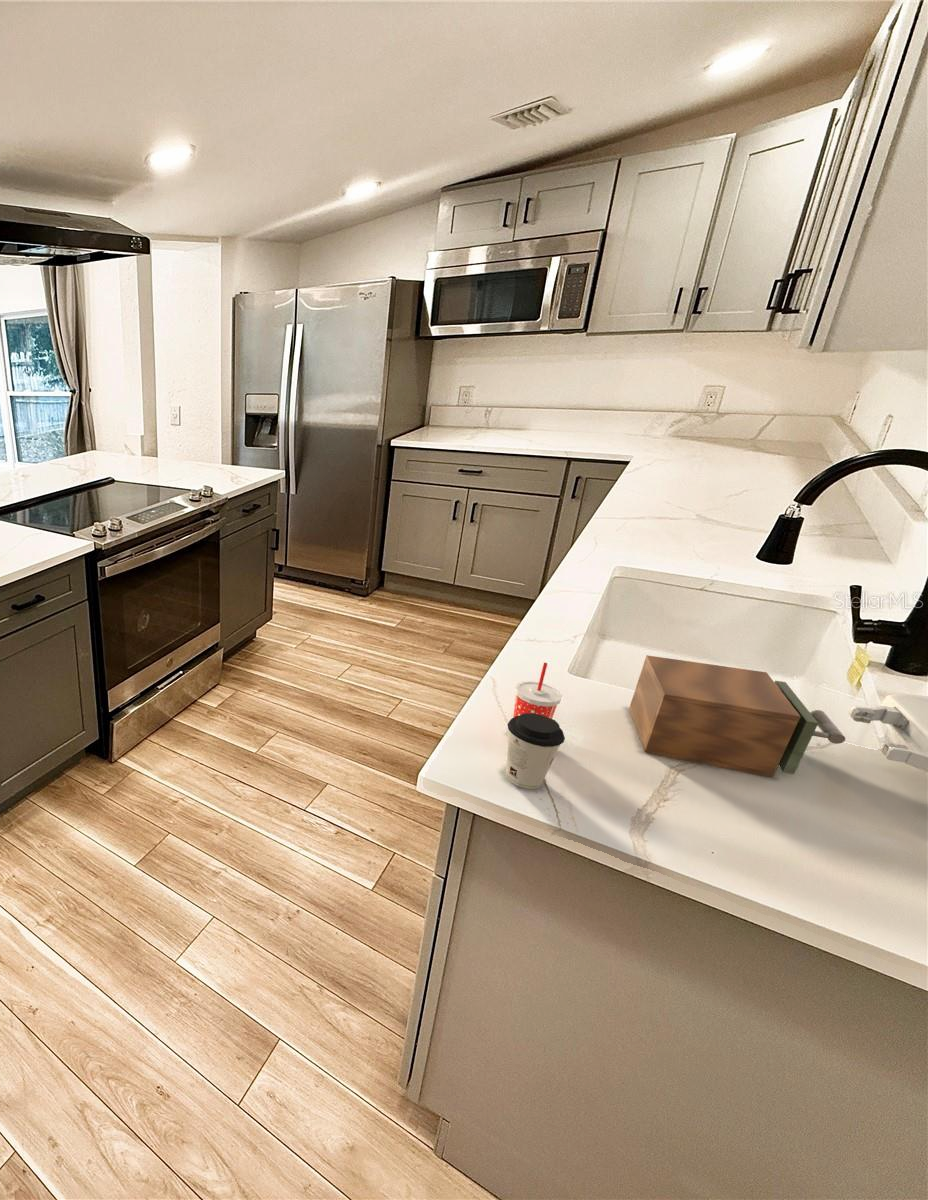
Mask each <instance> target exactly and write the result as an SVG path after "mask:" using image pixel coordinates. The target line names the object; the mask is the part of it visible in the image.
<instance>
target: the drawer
mask: <svg viewBox="0 0 928 1200" xmlns="http://www.w3.org/2000/svg"><path fill="white" fill-rule="evenodd" d="M774 683H775V684H776V685H777V687H778V688H779V689H780V690H781V692H782V693H783V694H784V696H785V697H786V698H787V699H788V701H789V702H790V703H791V705H792V706H793V707H794V709H795V710H796V711H797V712H798V714H799V715H800V719H799V721H798V723H797V725H796V727H795V730H794V732H793V734H792V736H791V738H790V740H789V743H788V745H787V747H786V749H785V751H784V753H783V756H782V758H781V760H780V762H779V764H778V767H779V768H780V770H781V772H782V773H785V774H792V775H794V774H795V773H796V771H797V769H798V767H799V765H800V762H801V761H802V759H803V756H804V754H805V752H806V750H807V748H808V747H809V744H810V742H811V740H812V738H813V737H816V738H817V737H818V738H823V739H827V740H828V741H829V742H830V743H832V744H835V745H836V744H838V745H839V744H842V743H844V742H845V741H846V736H845V735H844V734H843V733H842V732H841V730H840V729H839V728H838V726H836V725H835V723H834V722H833V720H831V718H830V717H829V716H828V715H827V714H826V712H824V711H823V710H820V709H814V710H811V711H810V710H809V709H808V708H807V707H806V705H805V704H804V702H802V701H801V699H800V698H799V697H798V695H797V694H796V693H795V692H794V690H792V688H791V687H790V686H789V684H788V683H787V682H786V681H782V680H781V681H780V680H775V681H774ZM817 727H818V728H819V730H820V731H818V730H816V729H817Z"/></svg>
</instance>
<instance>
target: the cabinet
mask: <svg viewBox="0 0 928 1200" xmlns="http://www.w3.org/2000/svg"><path fill="white" fill-rule="evenodd" d="M774 682H775V681H774V680H773V679H772V677H771V676H770V674H769V673H768V672H766V671H760V670H754V669H747V668H746V669H745V668H740V667H732V666H725V665H720V664H719V665H717V664H711V663H710V664H709V663H706V662H705V663H704V662H698V661H689V660H682V659H677V658H669V657H661V656H655V655H645V659H644V661H643V665H642V667H641V671H640V674H639V677H638V680H637V683H636V686H635V689H634V692H633V696H632V699H631V700H630V701H631V702H630V705H629V707H628V710H629V713H630V715H631V719H632V721H633V724H634V727H635V730H636V733H637V735H638V738H639V741H640V743H641V746H642V749H643V752H644V753H647V754H652V755H657V756H660V757H661V756H662V757H666V758H672V759H677V760H682V761H687V762H692V763H697V764H703V765H707V766H712V767H717V768H722V769H727V770H732V771H737V772H743V773H748V774H752V775H758V776H763V777H767V778H773V777H774V775H775V773H776V770H777V768H778V767H779V765H778V764H779V762H780V760H781V758H782V756H783V753H784V751H785V749H786V747H787V745H788V743H789V740H790V738H791V736H792V734H793V732H794V730H795V727H796V725H797V723H798V721H799V719H800V715H799V714H798V712H797V711H796V710H795V709H794V707H793V706H792V705H791V703H790V702H789V701H788V699H787V698H786V697H785V696H784V694H783V693H782V692H781V690H780V689H779V688H778V687H777V685H776V684H775V683H774Z"/></svg>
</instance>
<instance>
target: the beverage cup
mask: <svg viewBox="0 0 928 1200" xmlns="http://www.w3.org/2000/svg"><path fill="white" fill-rule="evenodd" d="M547 668H548V663H547V662H543V665H542V668H541V673H540V676H539V681H533V680H525V681H520V682H518V683H517V684H516V686H515V690H514V693H515V701H514V708H513V715H512V718H514V717H515V716H520V715H522V714H525V713H534V714H539V715H542V716H545V717H548V718H551V719H553V718H554V714H555V712H556V709H557V706H558V705H559V704H560V703H561V700H562V698H563V694H562V693H561V691H560V690H558V689H557V688H556V687H555V686H552V685H549V684H548V683H544V679H545V675H546V671H547Z"/></svg>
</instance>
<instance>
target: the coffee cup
mask: <svg viewBox="0 0 928 1200" xmlns="http://www.w3.org/2000/svg"><path fill="white" fill-rule="evenodd" d="M507 730H508V732H507V733H508V735H507V737H508V738H507V750H506V765H505V777H506V778H507V780H508V781H509V782H510V783H512V784H513V785H515V786H516V787H519V788H521V789H527V790H536V789H539V788H541V787H542V785H543V783H544V781H545V778H546V777H547V774H548V772H549V770H550V768H551V766H552V763H553V761H554V759H555V758H556V755H557V753H558V752H559V748H560V747H561V745H562V744H563V743H565V740H566V737H565V733H564V731H563V729H562V728H561V727H560V724H559V723H558V721H556V720H555V719H553V718H552V719H551V718H548V717H545V716H542V715H539V714H534V713H525V714H522V715H520V716H515V717H514V718H513V717H512V718H510V720H509V721H508V722H507Z"/></svg>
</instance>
